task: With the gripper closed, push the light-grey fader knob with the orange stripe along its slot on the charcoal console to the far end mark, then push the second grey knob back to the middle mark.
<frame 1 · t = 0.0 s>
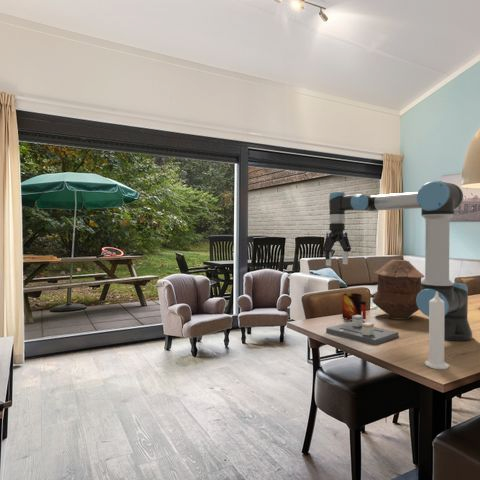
hand: (337, 265, 191), 28 cm above the table, fingers open, 13 cm apart
pottery vessel: (398, 317, 198), on the table
console: (361, 334, 165), on the table
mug: (355, 318, 196), on the table
fader b: (357, 320, 172), point 4 cm above the table, slide at 0.0 cm
fader a: (367, 328, 157), point 4 cm above the table, slide at 0.0 cm
candle: (436, 366, 127), on the table
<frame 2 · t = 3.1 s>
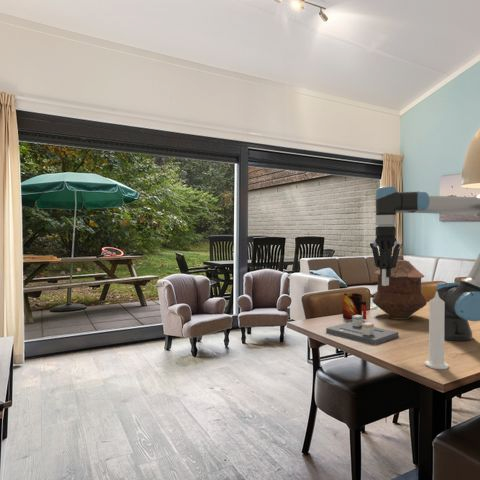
hand: (385, 285, 151), 24 cm above the table, fingers closed
nothing on the table moved.
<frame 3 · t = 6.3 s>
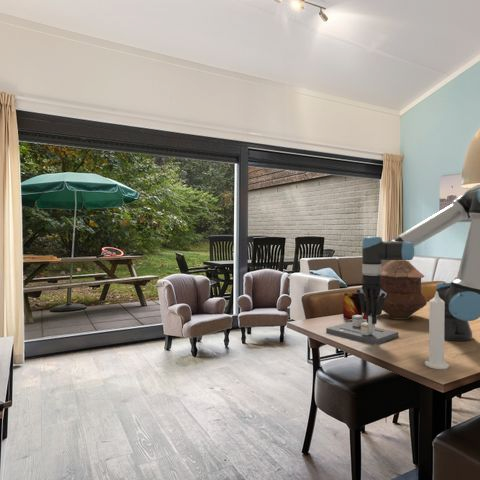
hand: (371, 331, 156), 4 cm above the table, fingers closed
fader a: (366, 328, 158), point 4 cm above the table, slide at 0.5 cm, touching gripper
everything else where it was.
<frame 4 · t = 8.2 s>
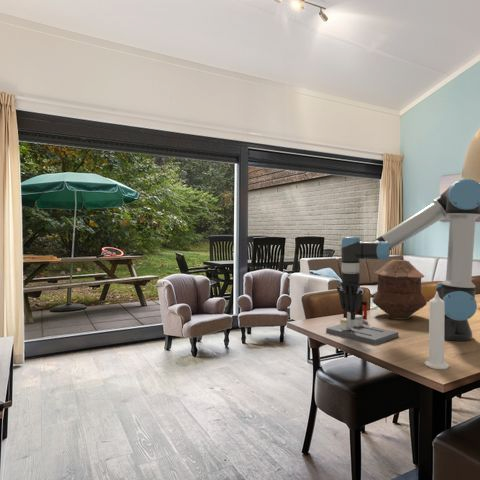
hand: (350, 326, 164), 4 cm above the table, fingers closed
fader a: (346, 323, 166), point 4 cm above the table, slide at 10.7 cm, touching gripper
everything else where it was.
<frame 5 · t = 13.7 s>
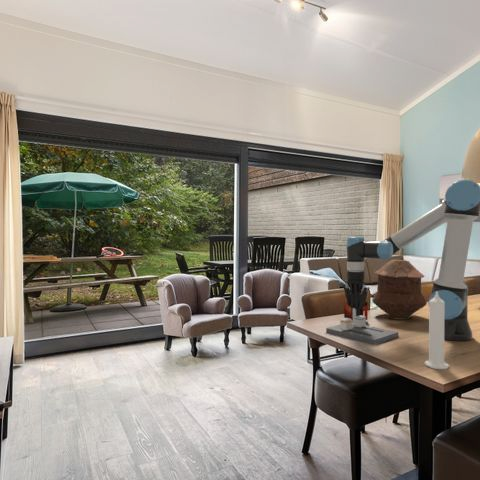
hand: (355, 322, 173), 4 cm above the table, fingers closed
fader b: (360, 321, 171), point 4 cm above the table, slide at -1.3 cm, touching gripper
fader a: (346, 323, 166), point 4 cm above the table, slide at 10.7 cm
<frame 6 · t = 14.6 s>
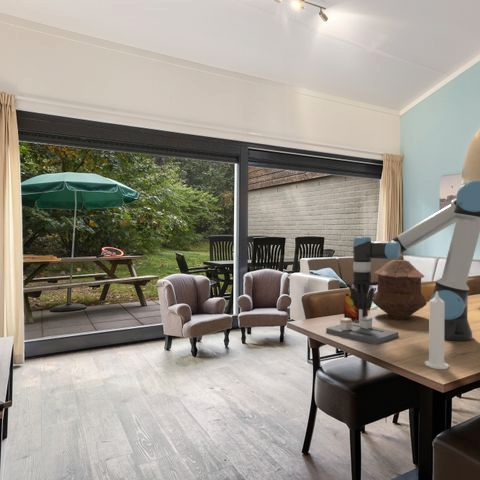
hand: (362, 323, 170), 4 cm above the table, fingers closed
fader b: (366, 322, 168), point 4 cm above the table, slide at -4.6 cm, touching gripper
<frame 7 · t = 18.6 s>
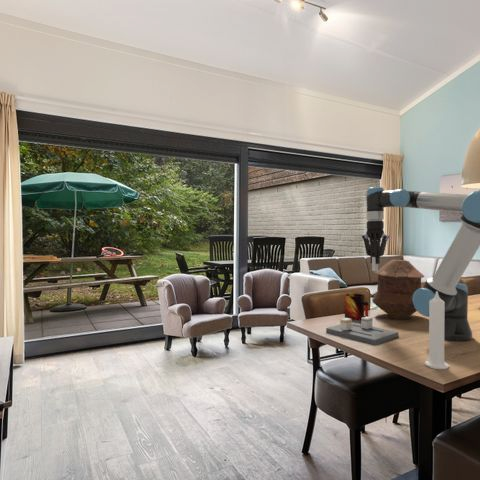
hand: (375, 270, 178), 26 cm above the table, fingers closed
fader b: (366, 322, 168), point 4 cm above the table, slide at -4.8 cm
at the end: fader a slide at 10.7 cm; fader b slide at -4.8 cm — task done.
